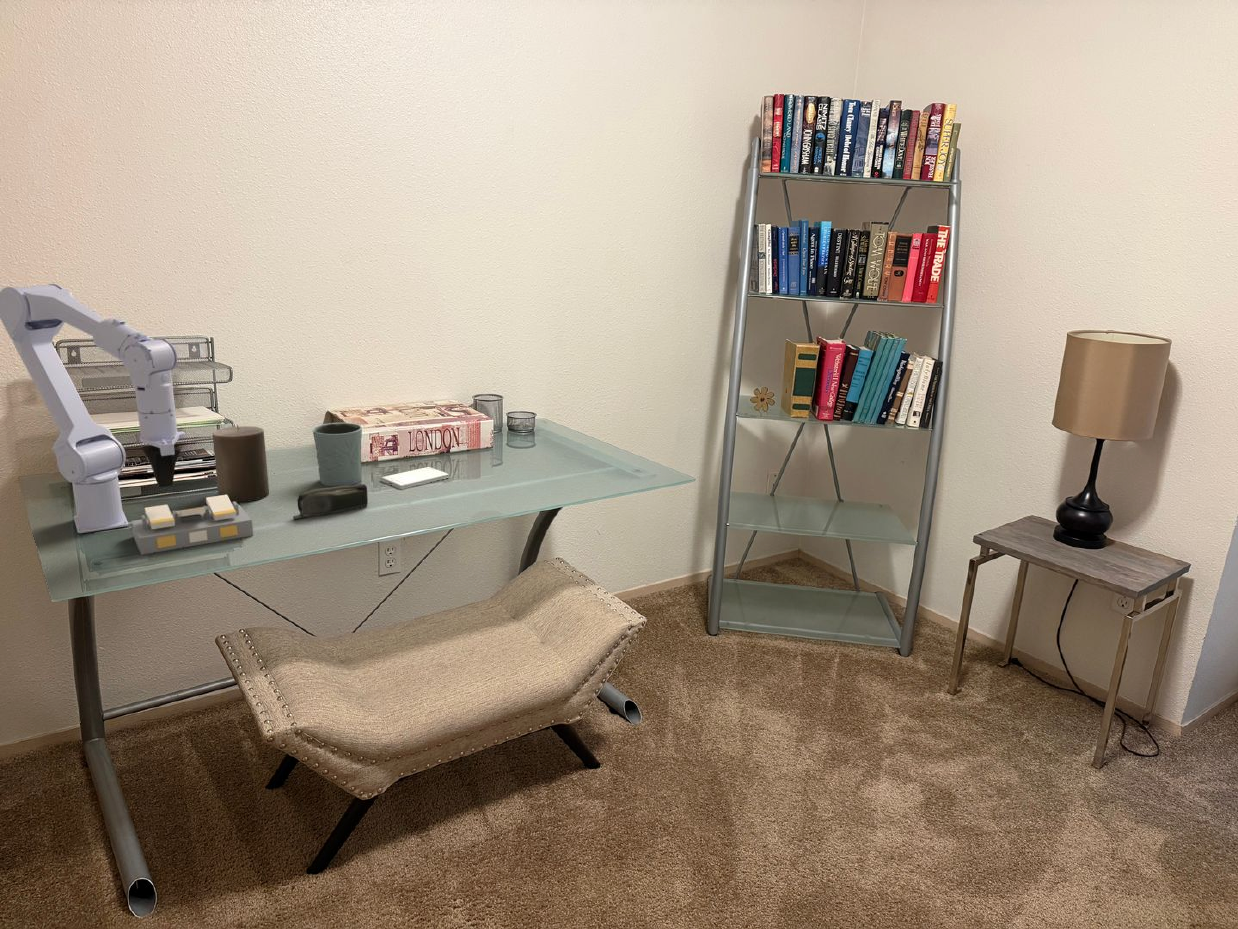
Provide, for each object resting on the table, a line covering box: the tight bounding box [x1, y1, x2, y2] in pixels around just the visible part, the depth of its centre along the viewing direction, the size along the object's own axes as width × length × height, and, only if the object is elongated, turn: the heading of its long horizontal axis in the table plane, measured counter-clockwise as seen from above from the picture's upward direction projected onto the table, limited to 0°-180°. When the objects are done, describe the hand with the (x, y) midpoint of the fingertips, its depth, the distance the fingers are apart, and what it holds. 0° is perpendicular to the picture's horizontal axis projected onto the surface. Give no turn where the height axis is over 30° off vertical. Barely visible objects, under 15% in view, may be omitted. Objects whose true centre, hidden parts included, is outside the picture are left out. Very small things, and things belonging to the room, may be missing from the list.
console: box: [131, 501, 254, 555], centre depth 155 cm, size 10×18×5 cm, turn 125°
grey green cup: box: [312, 422, 363, 487], centre depth 188 cm, size 10×10×12 cm
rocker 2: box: [176, 506, 205, 517], centre depth 154 cm, size 7×4×1 cm, turn 34°
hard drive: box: [380, 466, 450, 490], centre depth 192 cm, size 2×8×12 cm
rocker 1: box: [144, 504, 175, 529], centre depth 151 cm, size 7×4×1 cm, turn 36°
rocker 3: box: [205, 495, 236, 521], centre depth 157 cm, size 7×4×1 cm, turn 36°
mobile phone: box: [292, 483, 369, 520], centre depth 170 cm, size 5×3×15 cm
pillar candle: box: [211, 424, 270, 503], centre depth 176 cm, size 10×10×15 cm
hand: (165, 485), depth 153 cm, fingers closed
